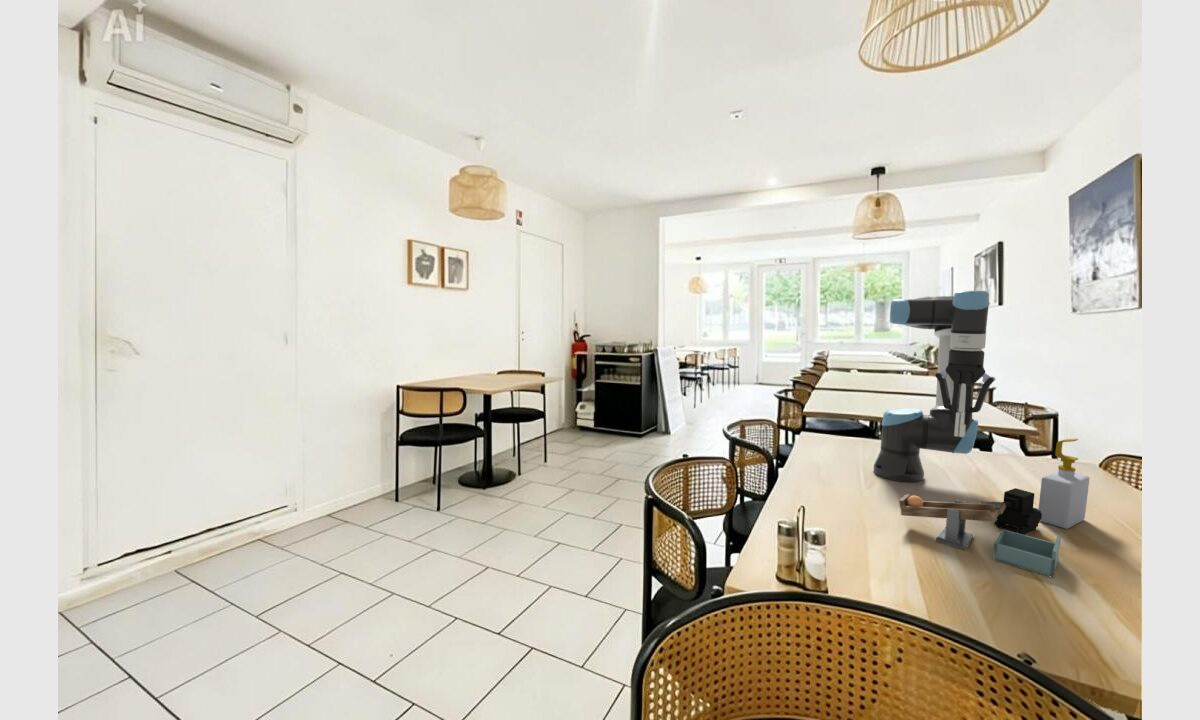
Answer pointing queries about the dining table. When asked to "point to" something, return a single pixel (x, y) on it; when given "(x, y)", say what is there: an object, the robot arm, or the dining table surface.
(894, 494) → the dining table surface
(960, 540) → the stand
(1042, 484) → the soap bottle
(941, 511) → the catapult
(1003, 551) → the tray
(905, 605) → the dining table surface
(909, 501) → the ball
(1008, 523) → the toy
